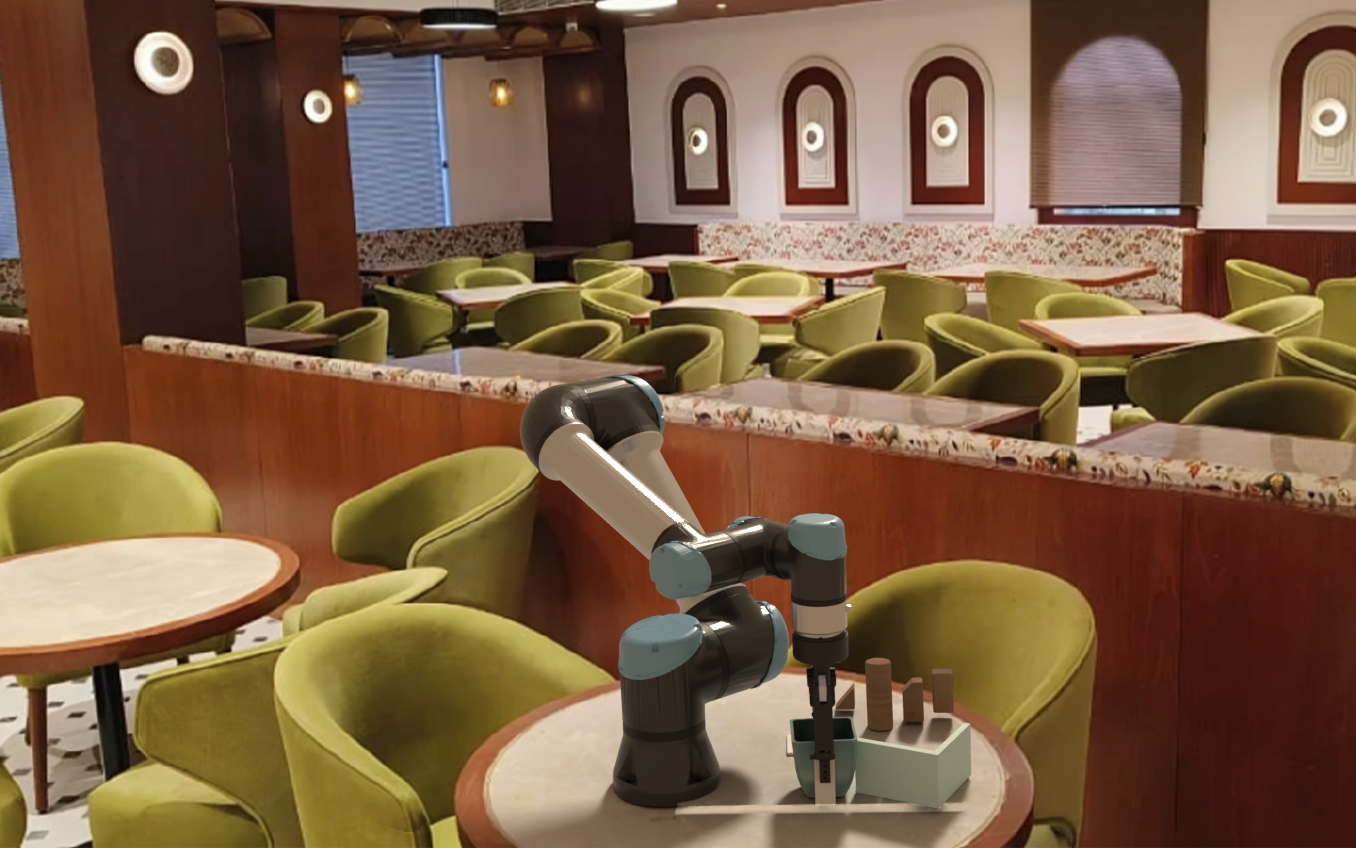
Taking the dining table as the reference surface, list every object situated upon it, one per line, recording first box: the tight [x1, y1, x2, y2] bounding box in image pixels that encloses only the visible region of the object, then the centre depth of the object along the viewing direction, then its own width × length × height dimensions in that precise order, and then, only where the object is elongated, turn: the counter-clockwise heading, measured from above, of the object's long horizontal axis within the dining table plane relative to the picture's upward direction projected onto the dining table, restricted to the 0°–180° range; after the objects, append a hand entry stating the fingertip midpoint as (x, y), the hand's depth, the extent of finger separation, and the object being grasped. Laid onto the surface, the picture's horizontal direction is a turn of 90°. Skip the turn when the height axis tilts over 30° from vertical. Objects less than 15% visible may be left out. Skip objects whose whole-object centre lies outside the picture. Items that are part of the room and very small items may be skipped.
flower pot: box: [789, 716, 858, 799], centre depth 199 cm, size 9×9×9 cm
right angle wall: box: [854, 722, 972, 809], centre depth 200 cm, size 12×12×8 cm
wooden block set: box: [834, 657, 955, 732], centre depth 222 cm, size 18×9×10 cm, turn 82°
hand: (824, 788), depth 200 cm, fingers closed on flower pot, 9 cm apart
